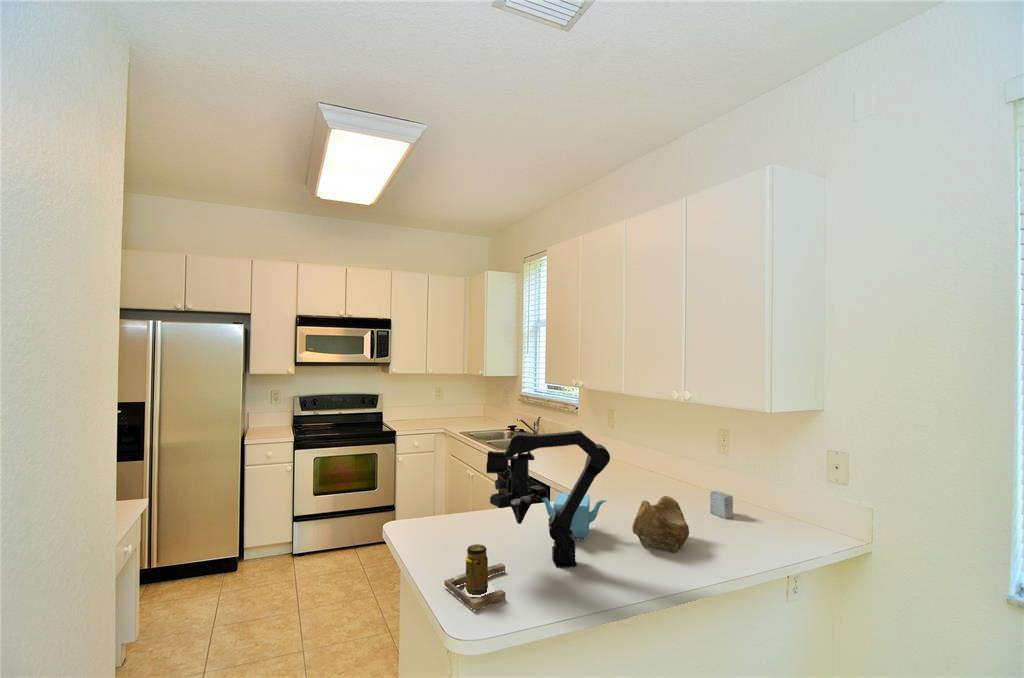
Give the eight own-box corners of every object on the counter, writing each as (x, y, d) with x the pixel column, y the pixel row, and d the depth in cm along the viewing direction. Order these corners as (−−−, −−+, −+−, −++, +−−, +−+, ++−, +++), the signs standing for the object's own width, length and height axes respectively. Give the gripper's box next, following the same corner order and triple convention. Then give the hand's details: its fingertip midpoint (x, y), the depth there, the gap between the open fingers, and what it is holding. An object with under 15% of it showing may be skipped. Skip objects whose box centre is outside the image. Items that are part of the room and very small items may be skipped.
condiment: (462, 586, 142) (463, 543, 142) (492, 583, 144) (492, 541, 144) (466, 599, 135) (466, 554, 135) (497, 595, 137) (497, 551, 137)
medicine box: (733, 517, 199) (733, 495, 199) (724, 519, 198) (724, 497, 198) (718, 511, 207) (718, 490, 207) (710, 513, 205) (709, 491, 205)
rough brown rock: (669, 565, 158) (674, 518, 157) (624, 546, 169) (628, 502, 169) (702, 547, 174) (707, 504, 173) (659, 530, 186) (663, 490, 185)
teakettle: (568, 548, 169) (569, 504, 169) (535, 531, 184) (535, 490, 184) (609, 536, 179) (609, 495, 179) (574, 521, 195) (574, 483, 195)
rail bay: (501, 569, 153) (501, 562, 153) (533, 589, 140) (533, 581, 140) (444, 587, 141) (444, 579, 141) (473, 611, 129) (473, 602, 129)
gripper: (527, 464, 170) (526, 510, 170) (480, 472, 159) (480, 522, 159) (548, 471, 161) (548, 520, 161) (500, 480, 150) (500, 533, 150)
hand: (519, 523), depth 158 cm, fingers closed
